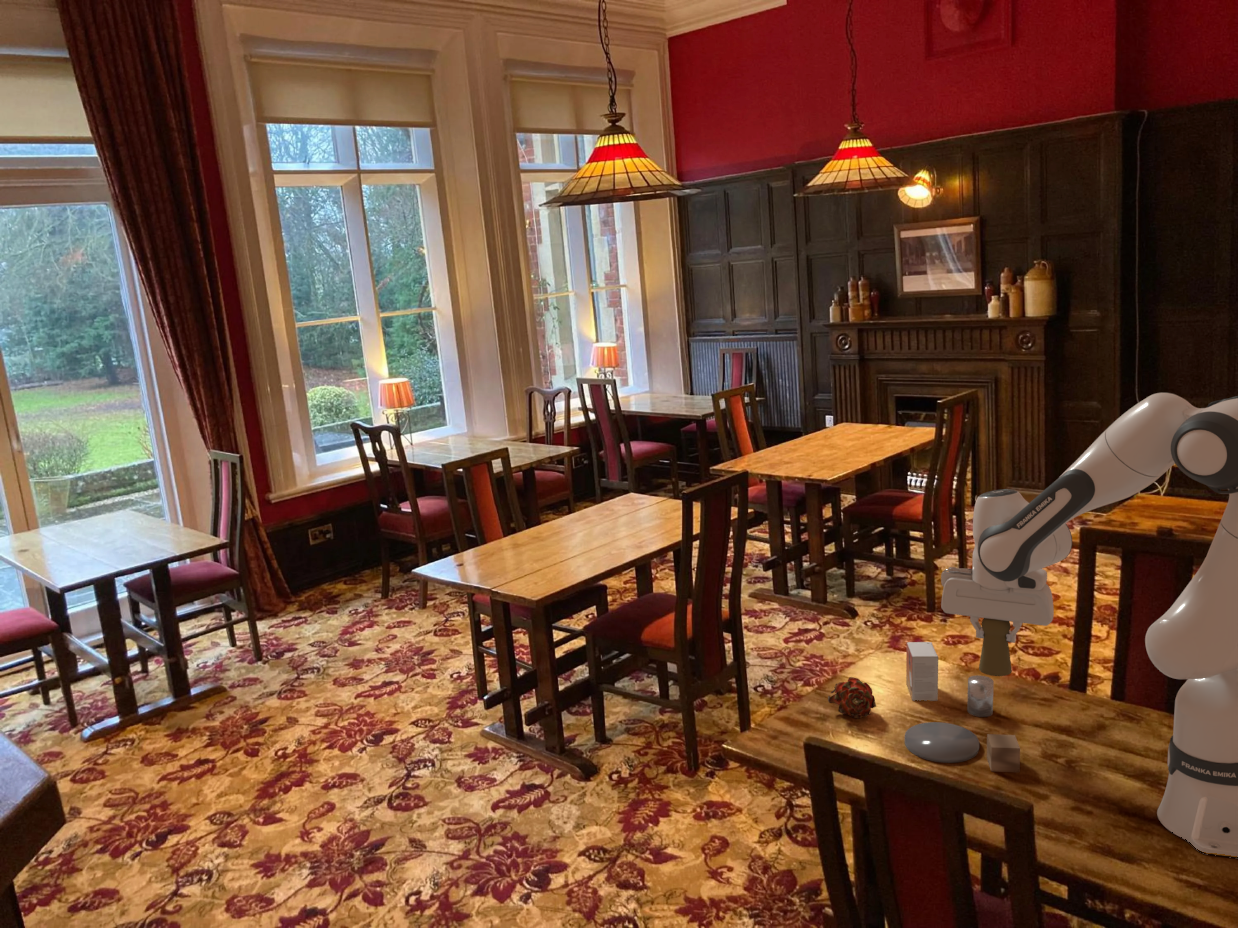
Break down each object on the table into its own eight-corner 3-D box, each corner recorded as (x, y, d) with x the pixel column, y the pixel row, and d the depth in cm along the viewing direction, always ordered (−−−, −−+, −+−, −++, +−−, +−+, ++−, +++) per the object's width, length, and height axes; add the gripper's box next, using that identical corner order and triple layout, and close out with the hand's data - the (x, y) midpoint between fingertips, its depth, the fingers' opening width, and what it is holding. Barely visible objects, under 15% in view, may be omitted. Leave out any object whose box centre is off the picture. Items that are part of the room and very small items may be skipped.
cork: (1006, 662, 193) (1007, 610, 190) (1016, 675, 187) (1017, 622, 184) (975, 663, 193) (975, 611, 191) (983, 676, 187) (984, 623, 185)
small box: (906, 684, 218) (905, 641, 216) (931, 684, 217) (931, 641, 215) (911, 701, 211) (911, 656, 208) (938, 701, 210) (938, 655, 208)
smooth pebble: (985, 735, 194) (985, 730, 194) (970, 768, 183) (970, 763, 182) (914, 722, 201) (914, 716, 201) (896, 753, 190) (896, 747, 189)
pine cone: (866, 734, 201) (837, 717, 212) (893, 704, 202) (863, 689, 214) (841, 707, 199) (814, 691, 211) (869, 677, 201) (840, 663, 212)
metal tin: (994, 708, 205) (996, 678, 203) (989, 718, 201) (990, 687, 199) (970, 704, 207) (971, 673, 206) (964, 713, 203) (965, 682, 202)
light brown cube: (1014, 758, 185) (1014, 734, 184) (1019, 772, 180) (1020, 748, 179) (986, 757, 186) (987, 733, 185) (991, 771, 181) (991, 747, 180)
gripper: (937, 570, 188) (937, 637, 191) (1051, 582, 178) (1049, 653, 181) (944, 561, 194) (944, 626, 197) (1056, 572, 183) (1054, 640, 186)
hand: (995, 639), depth 189 cm, fingers closed on cork, 4 cm apart
